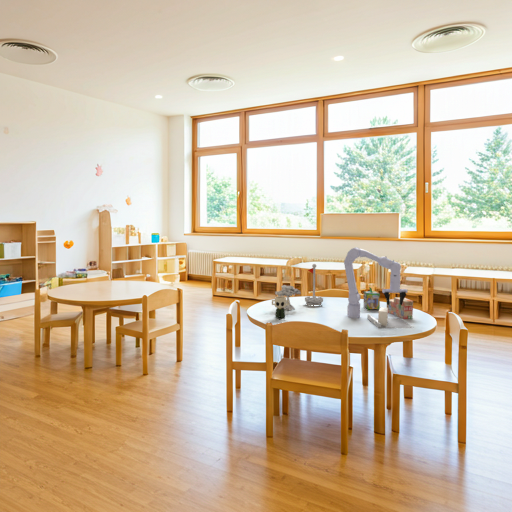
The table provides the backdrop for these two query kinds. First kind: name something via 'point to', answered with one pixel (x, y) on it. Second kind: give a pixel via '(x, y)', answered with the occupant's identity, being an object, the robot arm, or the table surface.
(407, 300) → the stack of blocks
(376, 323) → the price rail
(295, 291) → the tree
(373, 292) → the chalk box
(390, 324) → the shelf deck
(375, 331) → the table surface
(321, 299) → the flag stand
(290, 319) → the table surface
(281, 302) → the character mug
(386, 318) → the cream carton
